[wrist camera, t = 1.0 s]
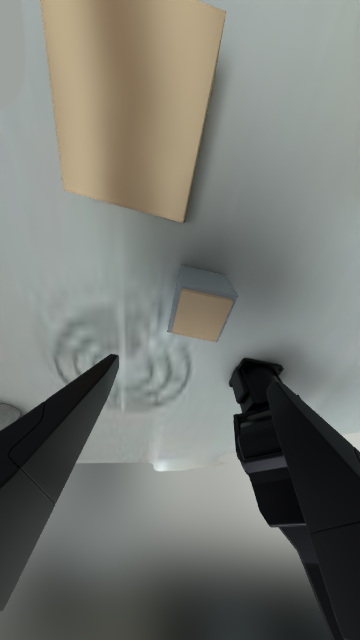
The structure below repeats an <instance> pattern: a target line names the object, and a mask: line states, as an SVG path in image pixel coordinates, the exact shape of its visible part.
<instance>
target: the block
mask: <svg viewBox="0 0 360 640" xmlns="http://www.w3.org/2000/svg"><path fill="white" fill-rule="evenodd" d="M40 2H41V10H42V19H43V27H44V35H45V43H46V51H47V59H48V67H49V76H50V84H51V92H52V100H53V108H54V116H55V124H56V133H57V141H58V149H59V157H60V165H61V173H62V181H63V189H64V191H68V192H72V193H75V194H79V195H83V196H86V197H90V198H94V199H97V200H101V201H105V202H108V203H112V204H116V205H119V206H123V207H126V208H130V209H134V210H137V211H141V212H145V213H148V214H152V215H156V216H159V217H163V218H167V219H170V220H174V221H178V222H181V223H184V220H185V215H186V210H187V205H188V201H189V196H190V191H191V186H192V182H193V177H194V172H195V167H196V162H197V158H198V153H199V148H200V143H201V139H202V134H203V129H204V124H205V119H206V115H207V110H208V105H209V100H210V96H211V91H212V86H213V81H214V76H215V72H216V66H217V60H218V55H219V49H220V43H221V38H222V32H223V27H224V21H225V15H226V11H223V10H221V9H218V8H215V7H213V6H210V5H208V4H205V3H203V2H200V1H198V0H40Z"/></svg>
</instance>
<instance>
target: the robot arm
mask: <svg viewBox="0 0 360 640" xmlns="http://www.w3.org/2000/svg"><path fill="white" fill-rule="evenodd" d="M118 368H119V356H118V355H115V354H110V355H109V356H107V357H106V358H104V359H103V360H101V361H100V362H99V363H97V364H96V365H94V366H93V367H92V368H90V369H89V370H87V371H86V372H85V373H83V374H82V375H80V376H79V377H78V378H76V379H75V380H73V381H72V382H71V383H69V384H68V385H66V386H65V387H64V388H62V389H61V390H59V391H58V392H56V393H55V394H54V395H52V396H51V397H49V398H48V399H47V400H46V401H44V402H42V403H41V404H40V405H38V406H37V407H35V408H34V409H32V410H31V411H29V412H28V413H27V414H25V415H24V416H22V417H21V418H19V419H18V420H16V421H15V422H13V423H11V424H10V425H8V426H7V427H5V428H4V429H2V430H0V611H3V609H4V607H5V606H6V604H7V602H8V600H9V598H10V596H11V594H12V592H13V590H14V588H15V586H16V584H17V582H18V580H19V578H20V576H21V573H22V571H23V569H24V568H25V565H26V563H27V561H28V559H29V557H30V555H31V553H32V551H33V549H34V547H35V545H36V543H37V541H38V539H39V537H40V535H41V533H42V531H43V529H44V527H45V525H46V523H47V521H48V519H49V517H50V514H51V512H52V510H53V508H54V506H55V503H56V502H57V500H58V498H59V496H60V494H61V492H62V490H63V488H64V486H65V483H66V482H67V480H68V478H69V476H70V473H71V471H72V469H73V467H74V465H75V463H76V461H77V459H78V457H79V455H80V453H81V451H82V449H83V447H84V445H85V443H86V441H87V439H88V437H89V435H90V433H91V431H92V429H93V427H94V425H95V423H96V421H97V419H98V416H99V414H100V412H101V410H102V408H103V406H104V404H105V402H106V400H107V398H108V396H109V393H110V391H111V388H112V385H113V382H114V380H115V377H116V374H117V371H118ZM282 371H283V367H282V366H281V365H276V364H271V363H266V362H261V361H256V360H251V359H243V360H242V362H241V364H240V365H239V367H238V369H237V370H236V371H235V373H234V375H233V376H232V378H231V380H230V382H229V386H230V387H233V390H234V394H235V398H236V401H237V403H239V404H240V406H241V410H242V413H241V414H235V415H234V432H235V445H236V452H237V457H238V459H239V460H240V462H241V464H242V467H243V469H244V470H245V472H246V474H248V476H249V477H250V481H251V483H252V486H253V490H254V493H255V496H256V500H257V503H258V507H259V510H260V512H261V514H262V515H263V517H264V519H265V520H266V522H267V523H268V525H269V526H270V527H279V529H280V530H281V531H282V532H283V534H284V535H285V536H286V537H287V539H288V540H289V541H290V543H291V544H292V545H293V546H294V548H295V549H296V550H297V552H298V554H299V556H300V559H301V561H302V564H303V566H304V569H305V571H306V574H307V576H308V579H309V582H310V584H311V587H312V589H313V592H314V594H315V597H316V600H317V602H318V605H319V607H320V610H321V613H322V615H323V618H324V620H325V623H326V625H327V628H328V630H329V633H330V636H331V638H332V640H360V452H359V451H358V450H357V449H356V448H355V447H353V446H352V445H351V444H350V443H349V442H348V441H347V440H346V439H345V438H344V437H343V436H342V435H340V434H339V433H338V432H337V431H336V430H335V429H334V428H333V427H331V426H330V425H329V424H328V423H327V422H326V421H325V420H324V419H323V418H321V417H320V416H319V415H318V414H317V413H316V412H315V411H314V410H312V409H311V408H310V407H309V406H308V405H307V404H306V403H305V402H304V401H302V400H301V398H300V397H299V395H296V394H295V393H293V392H292V391H291V390H290V389H289V388H288V387H287V386H286V385H285V384H283V383H282V381H281V379H280V378H279V374H280V373H281V372H282Z"/></svg>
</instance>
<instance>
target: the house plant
mask: <svg viewBox="0 0 360 640" xmlns="http://www.w3.org/2000/svg"><path fill="white" fill-rule="evenodd" d="M20 415H21V413H20V411H19V410H18V409H16V408H15V407H13V406H10V405H7V404H0V430H2V429H4V428H5V427H7V426H8V425H10V424H11V423H13V422H15V421H16V420H17V419H18V418H19V416H20Z"/></svg>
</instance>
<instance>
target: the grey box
mask: <svg viewBox="0 0 360 640" xmlns="http://www.w3.org/2000/svg"><path fill="white" fill-rule="evenodd" d="M237 297H238V295H237V293H236V292H235V290H234V289H233V287H232V286H231V284H230V283H229V281H228V280H227V278H226V277H225V275H223V274H219V273H215V272H210V271H206V270H202V269H197V268H193V267H189V266H185V265H181V267H180V271H179V276H178V281H177V286H176V290H175V295H174V300H173V304H172V310H171V315H170V320H169V325H168V330H167V332H170V333H173V334H178V335H183V336H188V337H193V338H198V339H203V340H208V341H213V342H218V340H219V337H220V335H221V333H222V331H223V328H224V326H225V324H226V322H227V319H228V317H229V315H230V313H231V310H232V308H233V306H234V304H235V301H236V299H237Z"/></svg>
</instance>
